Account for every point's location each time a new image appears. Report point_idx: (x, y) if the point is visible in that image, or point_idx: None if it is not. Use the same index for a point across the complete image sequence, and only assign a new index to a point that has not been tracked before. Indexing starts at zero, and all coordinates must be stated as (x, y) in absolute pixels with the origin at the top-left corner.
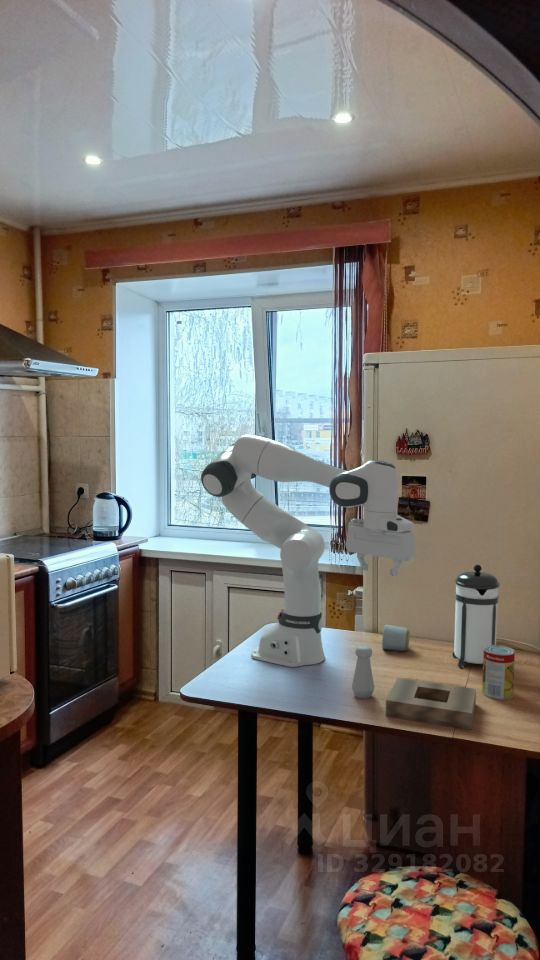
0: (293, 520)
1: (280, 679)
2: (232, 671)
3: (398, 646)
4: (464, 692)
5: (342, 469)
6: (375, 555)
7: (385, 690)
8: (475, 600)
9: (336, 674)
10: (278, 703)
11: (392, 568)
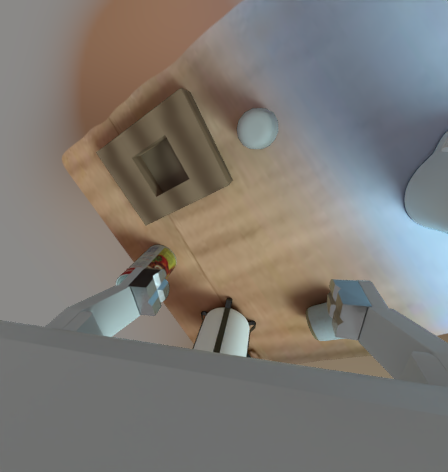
0: None
1: (440, 51)
2: None
3: (317, 306)
4: (144, 205)
5: None
6: (213, 354)
7: (248, 174)
8: None
9: (347, 169)
10: None
11: (147, 304)
